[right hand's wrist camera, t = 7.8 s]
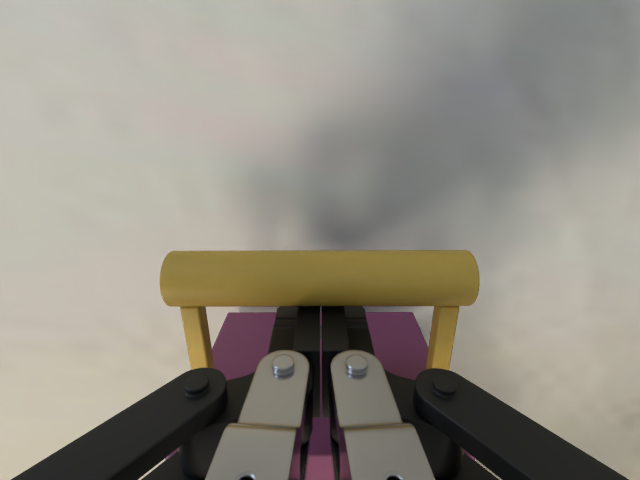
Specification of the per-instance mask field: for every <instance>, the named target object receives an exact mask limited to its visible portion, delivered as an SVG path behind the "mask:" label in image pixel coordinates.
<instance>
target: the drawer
mask: <svg viewBox="0 0 640 480" xmlns="http://www.w3.org/2000/svg"><path fill="white" fill-rule="evenodd" d="M160 290H161V295H162V298H163V300H164V302H165V303H166V304H167V305H168V306H172V307H181V308H180V309H181V315H182V321H183V326H184V332H185V337H186V343H187V348H188V354H189V359H190V365H191V370H193V369H197V368H205V367H206V368H214V369H217V370H219V371H221V372H222V373H223V374H224V376H225V378H226V381H227V380H231V379H235V378H239V377H243V376H246V375H248V374H251V373H253V372H254V371H256V369H257V366H258V364H259V362H260V360H261V359H262V358H263V357H265V356H266V355H268V350H269V345H270V341H271V336H272V332H273V328H274V322H275V318H276V313H277V312H265V313H228V314H227V317H226V319H225V321H224V323H223V326H222V328H221V330H220V333H219V335H218V337H217V339H216V342H215V344H214V346H213V348H211V341H210V335H209V328H208V321H207V315H206V308H205V306H434V312H433V319H432V327H431V334H430V341H429V348H428V346H427V344H426V342H425V339H424V337H423V335H422V332H421V330H420V328H419V326H418V323H417V321H416V319H415V317H414V314H413V313H412V312H365V314H366V319H367V322H368V327H369V331H370V336H371V340H372V344H373V349H374V353H375V357H377V358H378V359H379V360H380V362H381V364H382V366H383V368H384V369H385V370H387V371H388V372H390V373H392V374H394V375H397V376H400V377H404V378H408V379H412V380H415V379H416V377H417V375H418V374H419V373H420V372H422V371H424V370H427V369H431V368H439V369H445V370H449V365H450V359H451V354H452V348H453V342H454V336H455V330H456V324H457V318H458V312H459V306H470V305H472V304H473V303H474V302H475V300H476V298H477V295H478V291H479V271H478V266H477V263H476V260H475V258H474V256H473V255H472V253H471V252H469V251H467V250H336V251H172V252H170V253H168V254H167V256H166V257H165V259H164V261H163V264H162V267H161V273H160ZM177 451H178V448H177V449H176V450H175V451H173V452H172V453H171V454H170V455H168V456H167V457H166V458H165V459H166V460H167V459H168V458H169V457H171V456H172V455H173V454H175V453H176V452H177ZM464 453H465V454H467V455H468V456H469V457H471V458H472V459H473V460H475V458H474V457H473V456H472V455H470V454H469V453H468V452H467V451H465V450H464ZM306 480H334V479H333V470H332V461H331V452H330V421H329V417H322V312H320V417H313V430H312V434H311V437H310V453H309V461H308V470H307V479H306Z"/></svg>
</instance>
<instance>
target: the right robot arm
mask: <svg viewBox="0 0 640 480" xmlns="http://www.w3.org/2000/svg"><path fill="white" fill-rule="evenodd" d="M313 417H320V306H280V307H279V308H278V309H277V313H276V318H275V322H274V328H273V332H272V336H271V341H270V345H269V350H268V355H266V356H265V357H263V358H262V359H261V360H260V362H259V364H258V366H257V369H256V371H254V372H253V373H251V374H248V375H246V376H243V377H239V378H235V379H231V380H227V381H226V378H225V376H224V374H223V373H222V372H221V371H219V370H217V369H214V368H206V367H205V368H197V369H193V370H190V371H188V372H185V373H184V374H182V375H180V376H179V377H177V378H175V379H174V380H172V381H170V382H169V383H167V384H166V385H164V386H162V387H161V388H159V389H157V390H156V391H154V392H153V393H151V394H149V395H148V396H146V397H144V398H143V399H141V400H140V401H138V402H136V403H135V404H133V405H131V406H130V407H128V408H127V409H125V410H123V411H122V412H120V413H118V414H117V415H115V416H114V417H112V418H110V419H109V420H107V421H106V422H104V423H102V424H101V425H99V426H97V427H96V428H94V429H93V430H91V431H89V432H88V433H86V434H84V435H83V436H81V437H80V438H78V439H76V440H75V441H73V442H71V443H70V444H68V445H67V446H65V447H63V448H62V449H60V450H58V451H57V452H55V453H54V454H52V455H50V456H49V457H47V458H45V459H44V460H42V461H41V462H39V463H37V464H36V465H34V466H33V467H31V468H29V469H28V470H26V471H24V472H23V473H21V474H20V475H18V476H16V477H15V478H13V479H11V480H138V479H139V478H140V477H141V476H143V475H144V474H145V473H147V472H148V471H149V470H150V469H152V468H153V467H154V466H155V465H157V464H158V463H159V462H161V461H162V460H163V459H164V458H166V457H167V456H168V455H170V454H171V453H172V452H173V451H175V450H176V449H177V448H178V451H177V452H176V453H175V454H173V455H172V456H171V457H169V458H168V459H167V460H166V461H164V462H163V463H162V464H161V465H159V466H158V467H157V468H156V469H154V470H153V471H152V472H150V473H149V474H148V475H147V476H145V477H144V478H143V479H142V480H306V479H307V470H308V461H309V453H310V437H311V434H312V430H313ZM322 417H329V421H330V452H331V461H332V470H333V479H334V480H498V479H497V478H496V477H495V476H493V475H492V474H491V473H490V472H488V471H487V470H486V469H484V468H483V467H482V466H481V465H479V464H478V463H477V462H476V461H474V460H473V459H472V458H471V457H469V456H468V455H467V454H465V453H464V450H465V451H467V452H468V453H469V454H470V455H472V456H473V457H474V458H476V459H477V460H478V461H479V462H481V463H482V464H483V465H485V466H486V467H487V468H488V469H490V470H491V471H492V472H493V473H495V474H496V475H497V476H499V477H500V478H501V479H502V480H629V479H627V478H625V477H624V476H622V475H620V474H619V473H617V472H616V471H614V470H612V469H611V468H609V467H607V466H606V465H604V464H603V463H601V462H599V461H598V460H596V459H595V458H593V457H591V456H590V455H588V454H586V453H585V452H583V451H582V450H580V449H578V448H577V447H575V446H573V445H572V444H570V443H569V442H567V441H565V440H564V439H562V438H560V437H559V436H557V435H556V434H554V433H552V432H551V431H549V430H547V429H546V428H544V427H543V426H541V425H539V424H538V423H536V422H534V421H533V420H531V419H530V418H528V417H526V416H525V415H523V414H522V413H520V412H518V411H517V410H515V409H513V408H512V407H510V406H509V405H507V404H505V403H504V402H502V401H500V400H499V399H497V398H496V397H494V396H492V395H491V394H489V393H487V392H486V391H484V390H483V389H481V388H479V387H478V386H476V385H474V384H473V383H471V382H470V381H468V380H466V379H465V378H463V377H461V376H460V375H458V374H456V373H454V372H452V371H449V370H445V369H439V368H431V369H427V370H424V371H422V372H420V373H419V374H418V375H417V377H416V379H415V380H412V379H408V378H404V377H400V376H397V375H394V374H392V373H390V372H388V371H387V370H385V369H384V368H383V366H382V364H381V362H380V360H379V359H378V358H377V357H375V353H374V349H373V344H372V340H371V336H370V331H369V327H368V322H367V319H366V314H365V309H364V308H363V307H362V306H322Z"/></svg>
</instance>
